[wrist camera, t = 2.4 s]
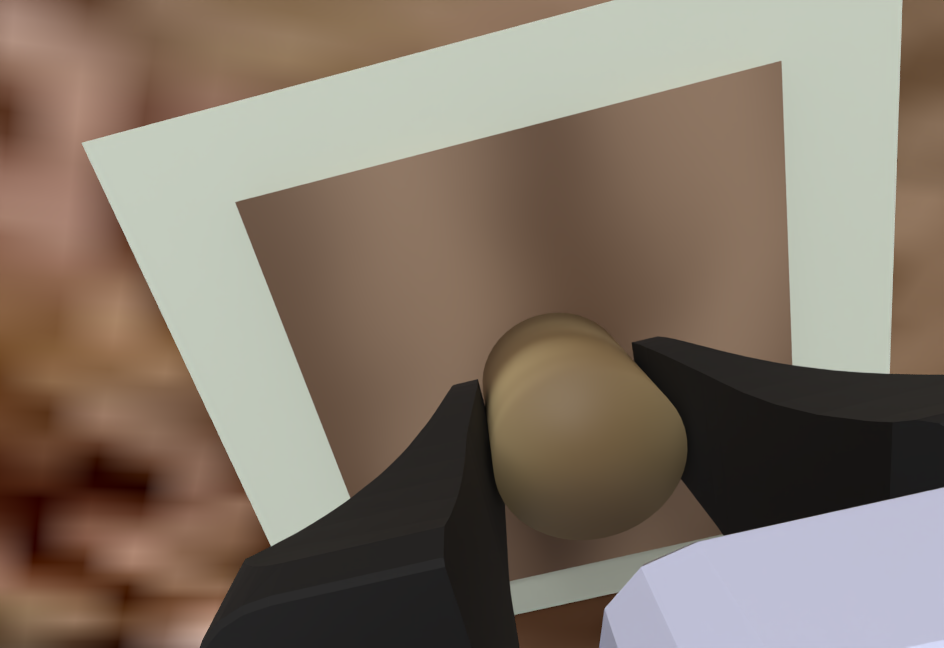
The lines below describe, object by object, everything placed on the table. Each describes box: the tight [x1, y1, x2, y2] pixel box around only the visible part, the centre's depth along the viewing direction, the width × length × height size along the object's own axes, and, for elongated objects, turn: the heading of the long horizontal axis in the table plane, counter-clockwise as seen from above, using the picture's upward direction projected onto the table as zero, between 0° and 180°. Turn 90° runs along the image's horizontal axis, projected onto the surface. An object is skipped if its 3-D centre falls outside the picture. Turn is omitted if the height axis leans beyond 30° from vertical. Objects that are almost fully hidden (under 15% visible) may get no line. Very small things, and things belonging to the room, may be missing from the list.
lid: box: [235, 61, 792, 581], centre depth 11 cm, size 12×12×4 cm
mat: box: [82, 0, 902, 615], centre depth 13 cm, size 18×16×1 cm
